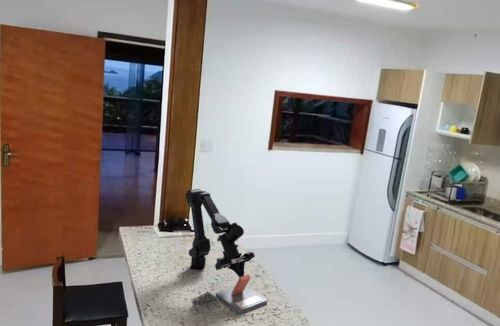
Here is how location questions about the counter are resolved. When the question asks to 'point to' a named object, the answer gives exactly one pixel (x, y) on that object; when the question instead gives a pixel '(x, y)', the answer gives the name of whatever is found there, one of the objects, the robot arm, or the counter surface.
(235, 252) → the robot arm
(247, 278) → the lever
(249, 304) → the base
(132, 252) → the counter surface
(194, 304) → the grey lumpy stone piece
